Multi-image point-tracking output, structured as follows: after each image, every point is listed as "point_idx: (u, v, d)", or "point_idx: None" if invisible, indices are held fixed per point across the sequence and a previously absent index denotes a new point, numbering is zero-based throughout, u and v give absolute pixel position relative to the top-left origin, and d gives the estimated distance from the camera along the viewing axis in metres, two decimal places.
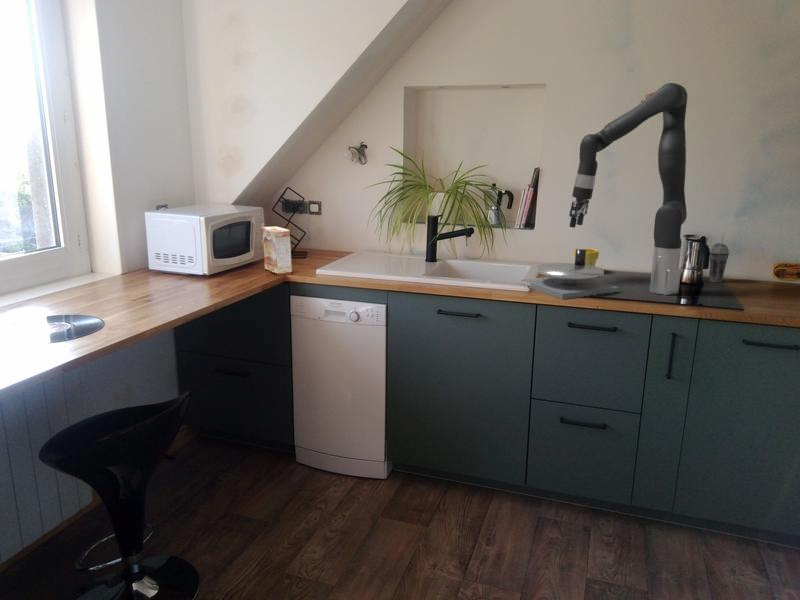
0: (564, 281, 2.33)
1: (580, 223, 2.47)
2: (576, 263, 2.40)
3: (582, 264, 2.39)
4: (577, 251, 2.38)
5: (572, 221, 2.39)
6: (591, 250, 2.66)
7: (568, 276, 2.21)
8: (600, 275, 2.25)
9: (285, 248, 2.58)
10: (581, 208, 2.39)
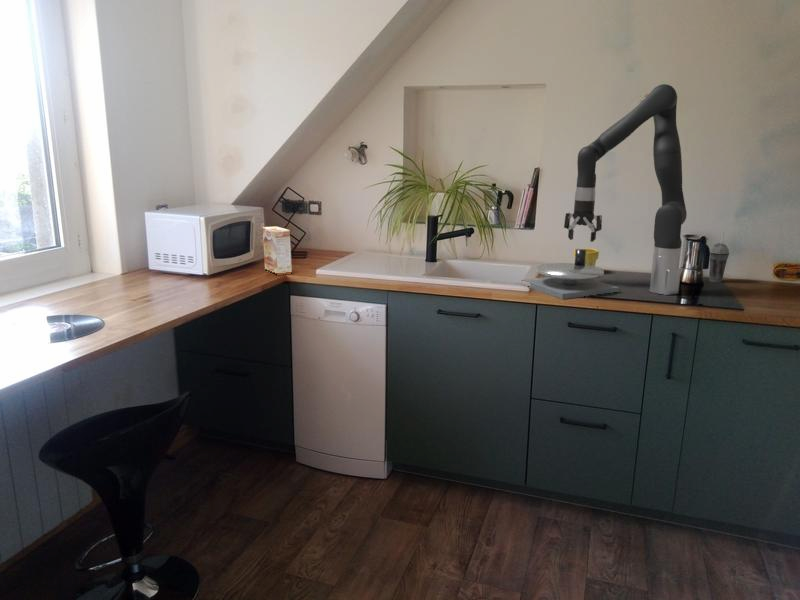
0: (564, 281, 2.33)
1: (572, 237, 2.41)
2: (576, 263, 2.40)
3: (582, 264, 2.39)
4: (577, 251, 2.38)
5: (595, 235, 2.35)
6: (591, 250, 2.66)
7: (568, 276, 2.21)
8: (600, 275, 2.25)
9: (285, 248, 2.58)
10: (591, 220, 2.36)
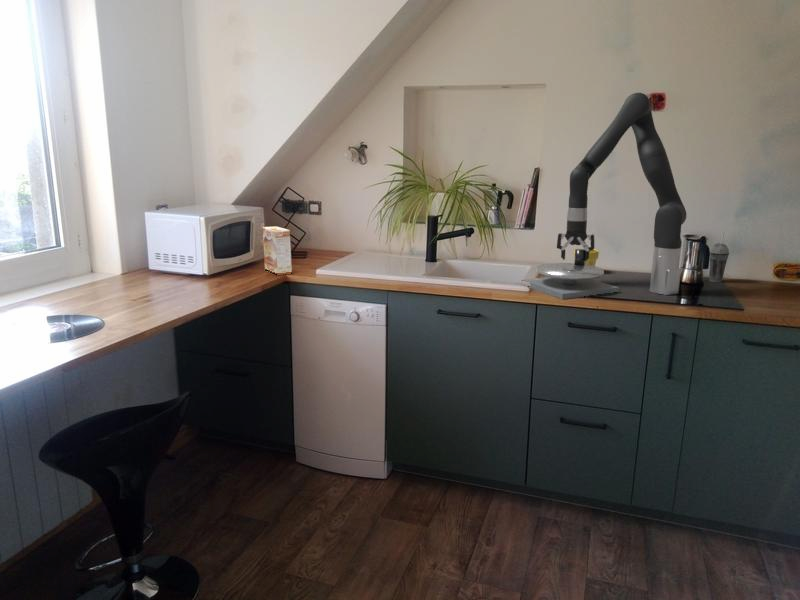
0: (564, 281, 2.33)
1: (564, 257, 2.42)
2: (576, 263, 2.40)
3: (582, 264, 2.39)
4: (577, 251, 2.38)
5: (588, 254, 2.38)
6: (591, 250, 2.66)
7: (568, 276, 2.21)
8: (600, 275, 2.25)
9: (285, 248, 2.58)
10: None
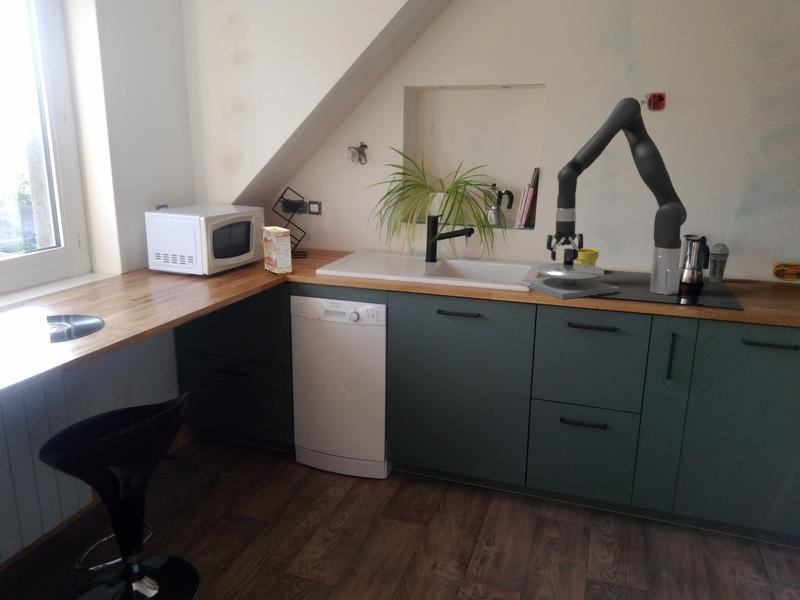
0: (564, 281, 2.33)
1: None
2: (566, 262, 2.41)
3: (572, 263, 2.41)
4: (567, 250, 2.40)
5: None
6: (591, 250, 2.66)
7: (583, 276, 2.21)
8: (603, 273, 2.29)
9: (285, 248, 2.58)
10: None
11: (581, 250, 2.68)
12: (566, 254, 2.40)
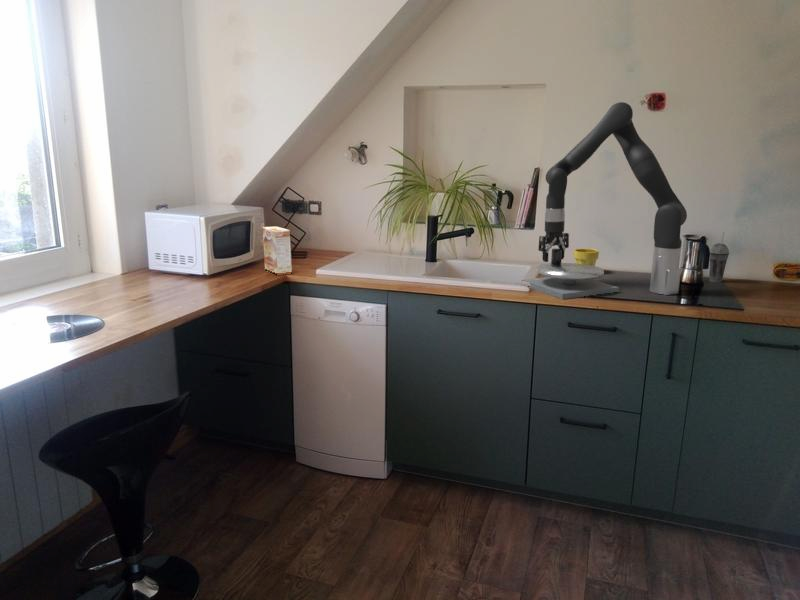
0: (564, 281, 2.33)
1: None
2: (556, 263, 2.40)
3: (561, 263, 2.42)
4: (557, 251, 2.39)
5: None
6: (591, 250, 2.66)
7: (596, 275, 2.23)
8: None
9: (285, 248, 2.58)
10: None
11: (581, 250, 2.68)
12: (556, 254, 2.40)
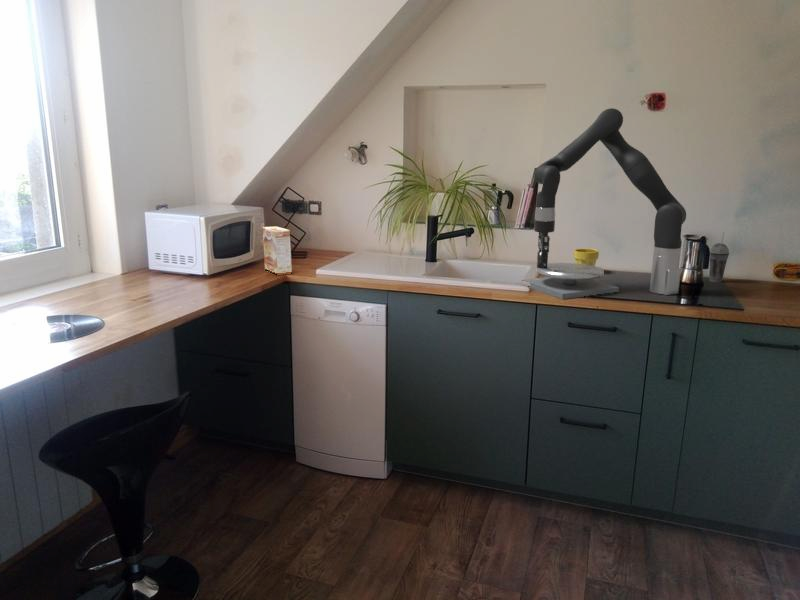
0: (564, 281, 2.33)
1: None
2: (546, 266, 2.35)
3: None
4: (547, 253, 2.33)
5: None
6: (591, 250, 2.66)
7: None
8: None
9: (285, 248, 2.58)
10: (538, 239, 2.34)
11: (581, 250, 2.68)
12: None
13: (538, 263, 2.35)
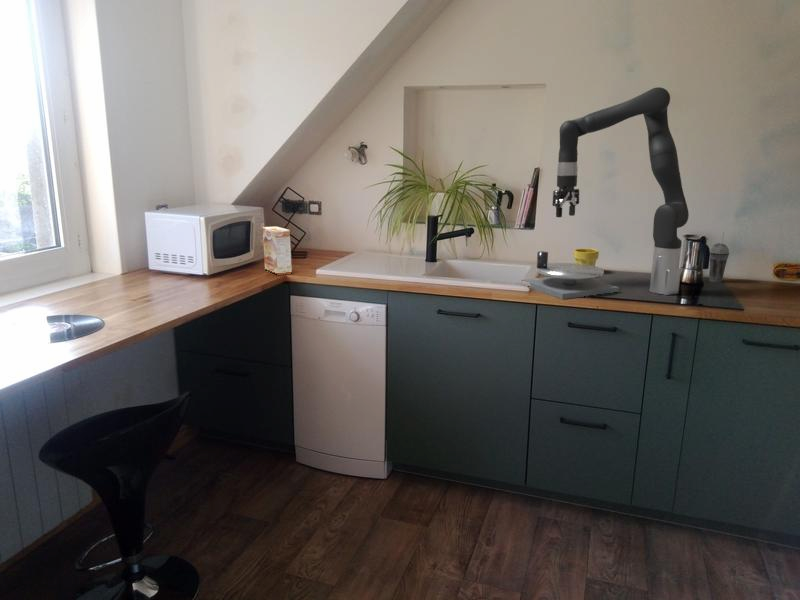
0: (564, 281, 2.33)
1: None
2: (546, 266, 2.34)
3: None
4: (547, 253, 2.33)
5: None
6: (591, 250, 2.66)
7: None
8: None
9: (285, 248, 2.58)
10: None
11: (581, 250, 2.68)
12: (546, 257, 2.33)
13: (538, 263, 2.34)
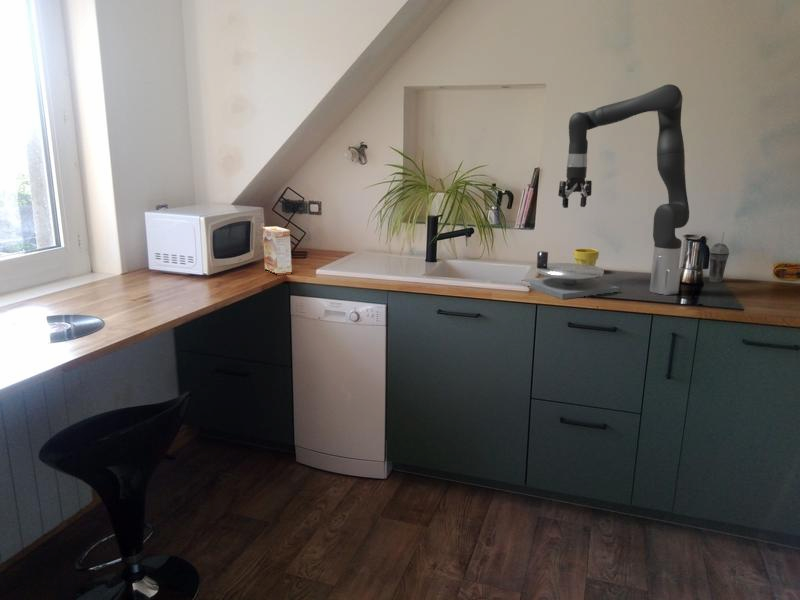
0: (564, 281, 2.33)
1: None
2: (546, 266, 2.34)
3: None
4: (547, 253, 2.33)
5: None
6: (591, 250, 2.66)
7: None
8: None
9: (285, 248, 2.58)
10: None
11: (581, 250, 2.68)
12: (546, 257, 2.33)
13: (538, 263, 2.34)
